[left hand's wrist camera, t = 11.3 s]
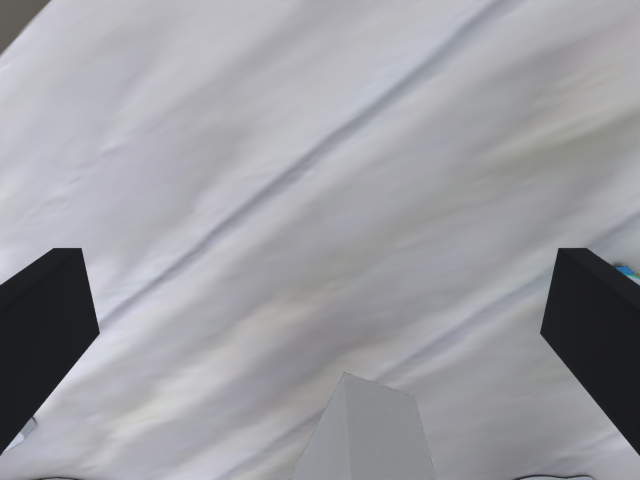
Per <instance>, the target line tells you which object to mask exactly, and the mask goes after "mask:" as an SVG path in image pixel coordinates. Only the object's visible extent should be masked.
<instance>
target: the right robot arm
mask: <svg viewBox="0 0 640 480" xmlns="http://www.w3.org/2000/svg"><path fill="white" fill-rule="evenodd" d="M521 480H593V479H592V478H591V477H587V476H583V477H575V478H568V479H563V478H555V477H545V476H540V477H530V478H525V479H521Z"/></svg>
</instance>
